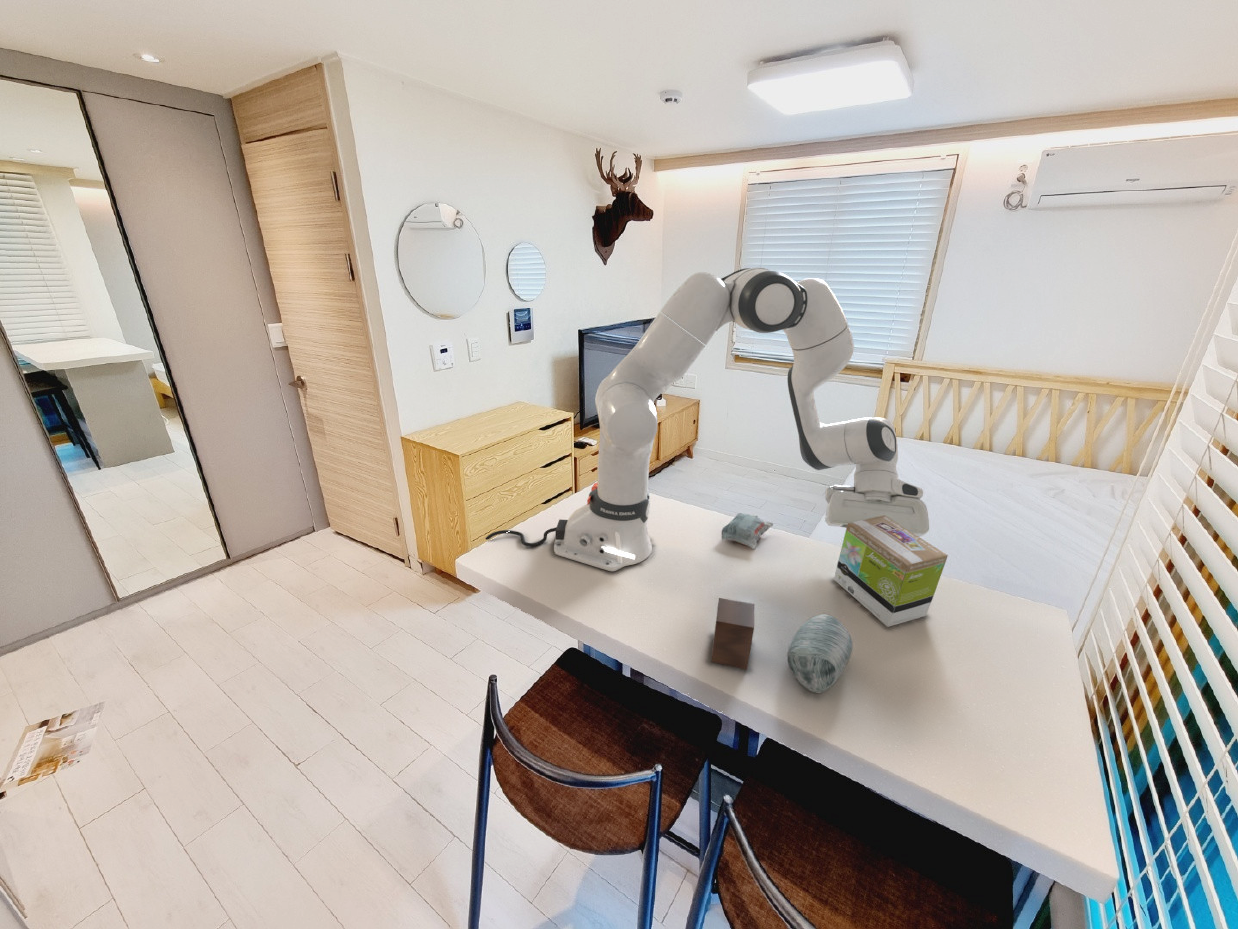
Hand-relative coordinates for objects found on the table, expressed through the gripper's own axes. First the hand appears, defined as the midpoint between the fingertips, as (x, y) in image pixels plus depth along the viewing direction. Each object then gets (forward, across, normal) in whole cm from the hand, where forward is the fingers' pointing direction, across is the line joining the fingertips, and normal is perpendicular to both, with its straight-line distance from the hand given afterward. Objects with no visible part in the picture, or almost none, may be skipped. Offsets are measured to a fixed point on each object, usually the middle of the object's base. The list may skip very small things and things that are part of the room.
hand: (875, 550), depth 107 cm
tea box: (+10, 0, -2) cm, 11 cm away
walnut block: (+26, -29, -19) cm, 43 cm away
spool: (+26, -14, -18) cm, 35 cm away
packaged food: (-1, -26, +8) cm, 28 cm away
